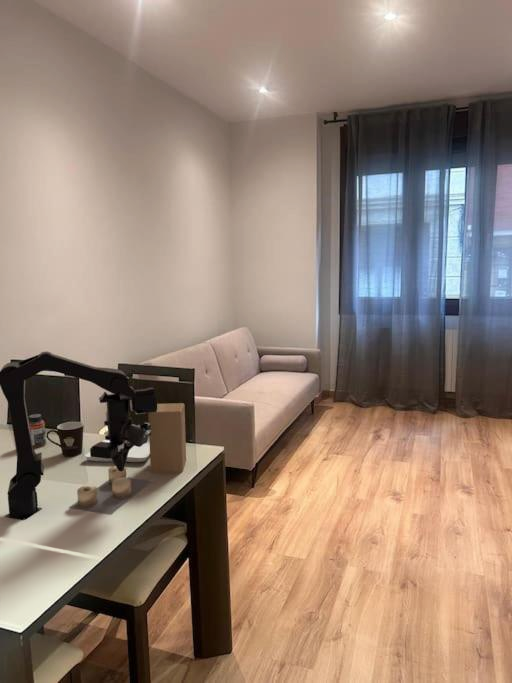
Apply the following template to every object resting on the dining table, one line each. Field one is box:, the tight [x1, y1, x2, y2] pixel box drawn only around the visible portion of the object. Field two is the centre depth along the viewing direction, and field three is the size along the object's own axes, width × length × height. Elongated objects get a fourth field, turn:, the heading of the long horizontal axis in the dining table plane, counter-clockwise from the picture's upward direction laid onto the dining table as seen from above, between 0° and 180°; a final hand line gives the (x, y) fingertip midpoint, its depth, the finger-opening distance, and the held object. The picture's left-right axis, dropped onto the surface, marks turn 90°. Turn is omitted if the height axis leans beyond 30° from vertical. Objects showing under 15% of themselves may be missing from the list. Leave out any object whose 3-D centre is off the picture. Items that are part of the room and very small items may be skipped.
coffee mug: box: [45, 421, 85, 458], centre depth 168 cm, size 12×9×10 cm
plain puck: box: [112, 477, 131, 499], centre depth 135 cm, size 5×5×4 cm
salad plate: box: [84, 437, 150, 463], centre depth 167 cm, size 21×21×3 cm
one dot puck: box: [76, 484, 98, 508], centre depth 130 cm, size 5×5×4 cm
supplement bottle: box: [28, 413, 47, 449], centre depth 176 cm, size 6×6×11 cm
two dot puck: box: [107, 465, 127, 485], centre depth 143 cm, size 5×5×4 cm
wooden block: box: [147, 402, 187, 474], centre depth 154 cm, size 10×10×20 cm
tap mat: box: [68, 477, 153, 516], centre depth 136 cm, size 21×13×1 cm, turn 162°
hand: (121, 470), depth 134 cm, fingers closed
